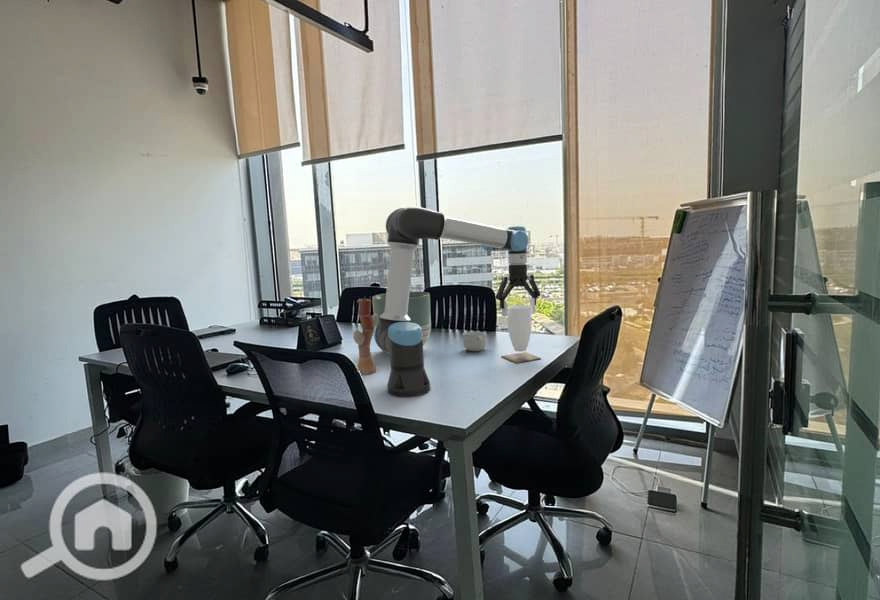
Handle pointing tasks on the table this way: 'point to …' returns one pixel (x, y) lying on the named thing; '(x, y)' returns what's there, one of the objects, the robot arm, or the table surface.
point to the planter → (410, 310)
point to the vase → (365, 337)
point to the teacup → (474, 341)
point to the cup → (519, 326)
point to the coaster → (520, 357)
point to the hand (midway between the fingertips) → (518, 314)
